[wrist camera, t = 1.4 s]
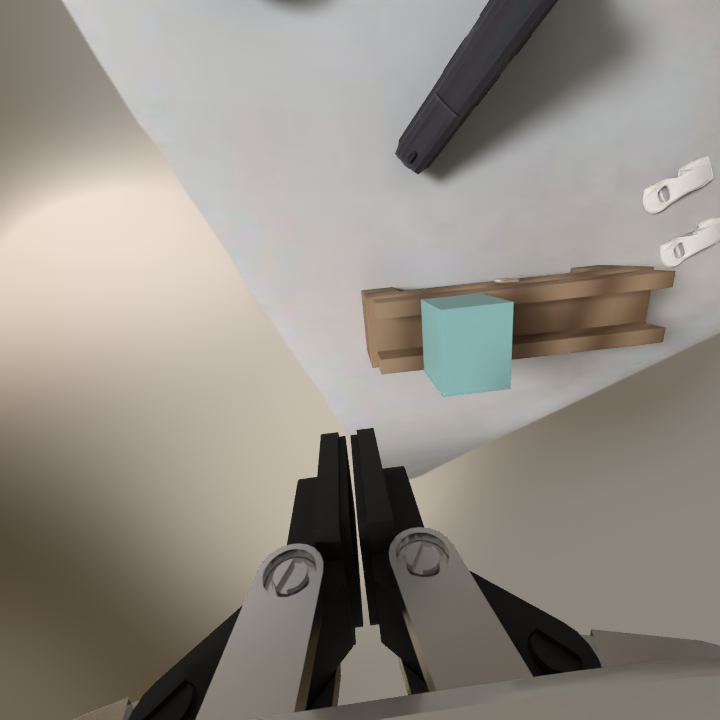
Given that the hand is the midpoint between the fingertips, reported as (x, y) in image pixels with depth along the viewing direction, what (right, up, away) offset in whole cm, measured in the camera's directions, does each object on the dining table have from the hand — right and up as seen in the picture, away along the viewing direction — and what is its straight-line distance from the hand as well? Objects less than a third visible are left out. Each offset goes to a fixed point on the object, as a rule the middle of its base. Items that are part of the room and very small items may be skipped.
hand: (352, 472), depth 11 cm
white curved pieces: (+32, +18, +23) cm, 43 cm away
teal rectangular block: (+7, +6, +17) cm, 20 cm away
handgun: (+10, +28, +18) cm, 34 cm away
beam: (+13, +9, +23) cm, 28 cm away
